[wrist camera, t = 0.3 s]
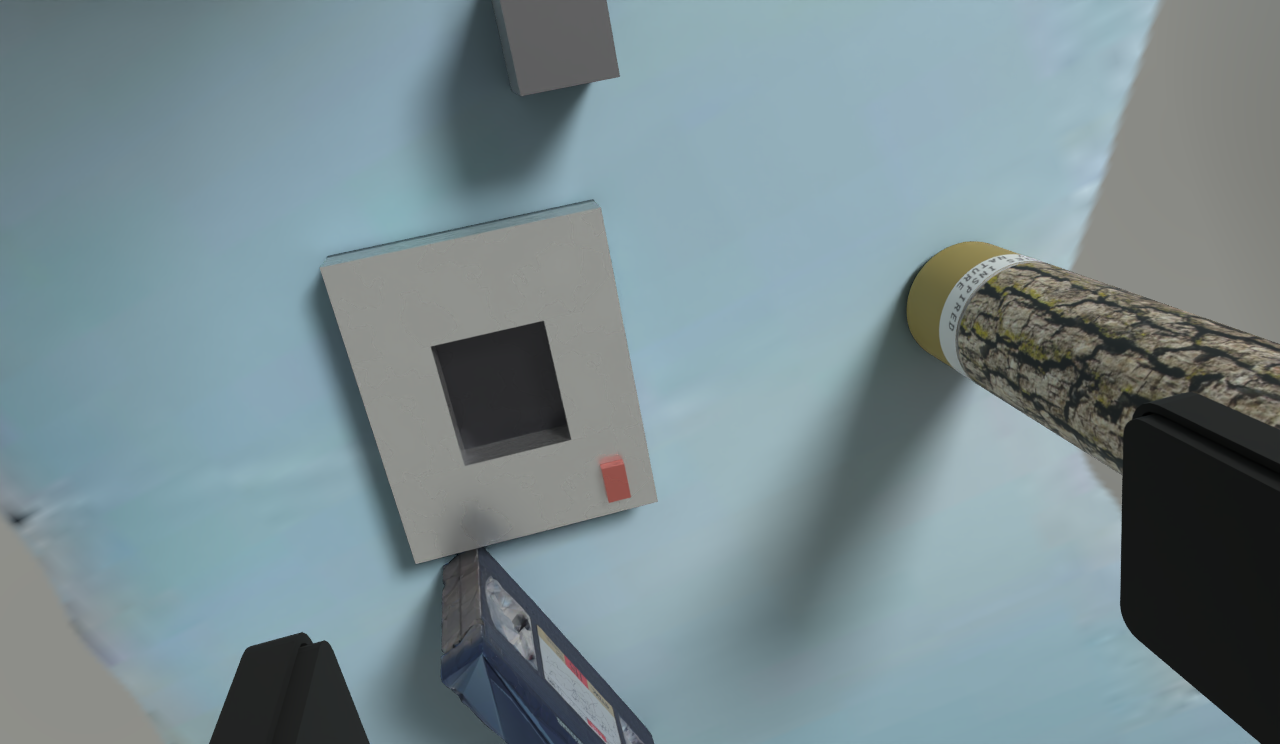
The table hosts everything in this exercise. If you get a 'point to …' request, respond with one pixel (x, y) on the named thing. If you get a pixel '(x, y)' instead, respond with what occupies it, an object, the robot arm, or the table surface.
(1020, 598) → the table surface
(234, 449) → the table surface
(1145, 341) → the paper tube
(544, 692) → the vhs cassette tape
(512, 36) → the plug
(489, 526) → the socket plate
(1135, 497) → the robot arm
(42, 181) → the table surface
